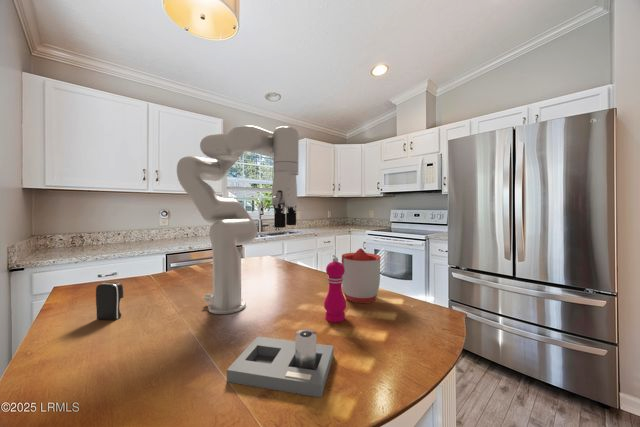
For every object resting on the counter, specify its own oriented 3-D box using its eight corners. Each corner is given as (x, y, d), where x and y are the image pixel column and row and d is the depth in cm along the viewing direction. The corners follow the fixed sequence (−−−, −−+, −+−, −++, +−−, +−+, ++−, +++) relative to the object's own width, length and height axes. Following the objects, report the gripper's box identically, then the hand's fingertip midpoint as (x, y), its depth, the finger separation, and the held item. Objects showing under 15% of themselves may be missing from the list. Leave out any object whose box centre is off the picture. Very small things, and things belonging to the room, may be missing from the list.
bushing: (292, 375, 55) (292, 337, 54) (298, 362, 59) (298, 327, 59) (313, 378, 54) (313, 340, 53) (318, 365, 58) (318, 330, 58)
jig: (226, 381, 53) (226, 368, 53) (257, 345, 66) (257, 335, 66) (321, 397, 48) (321, 383, 48) (333, 355, 62) (333, 344, 62)
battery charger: (125, 315, 85) (125, 281, 84) (115, 320, 81) (114, 284, 80) (106, 314, 85) (105, 280, 85) (95, 319, 81) (94, 284, 81)
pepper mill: (344, 324, 79) (345, 259, 79) (322, 322, 80) (322, 258, 80) (347, 314, 86) (347, 255, 86) (326, 312, 88) (326, 254, 87)
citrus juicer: (335, 291, 110) (335, 245, 109) (376, 292, 109) (376, 245, 109) (336, 305, 94) (337, 251, 93) (384, 306, 93) (385, 252, 93)
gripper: (284, 173, 87) (284, 224, 87) (262, 165, 70) (262, 228, 70) (305, 173, 85) (305, 224, 85) (288, 164, 68) (288, 228, 69)
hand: (285, 226), depth 78 cm, fingers open, 9 cm apart
